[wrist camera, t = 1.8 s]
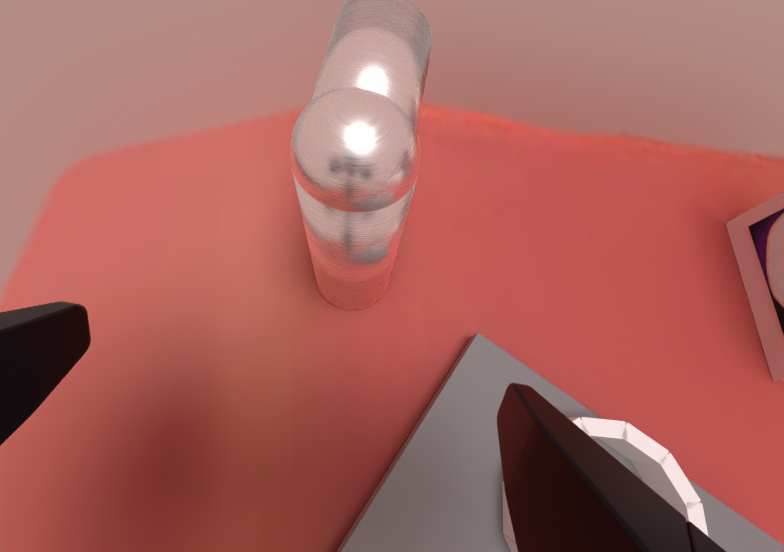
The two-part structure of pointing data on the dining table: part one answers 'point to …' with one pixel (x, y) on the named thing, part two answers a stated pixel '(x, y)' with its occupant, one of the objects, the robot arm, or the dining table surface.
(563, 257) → the dining table surface
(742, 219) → the greeting card
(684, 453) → the dining table surface
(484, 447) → the duct flange
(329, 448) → the dining table surface
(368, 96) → the chrome ball-end rod
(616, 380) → the dining table surface
